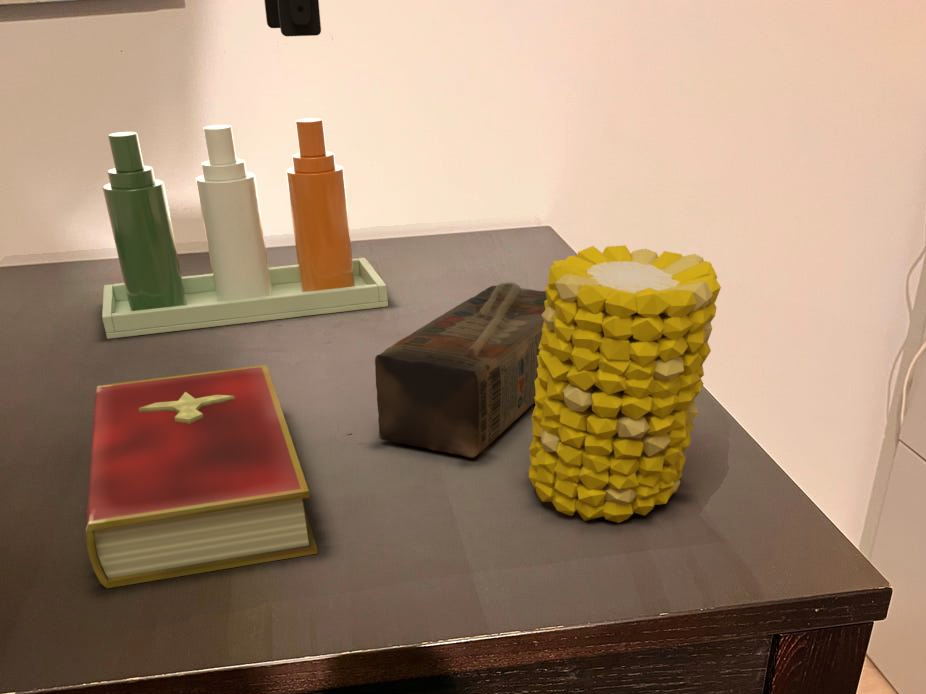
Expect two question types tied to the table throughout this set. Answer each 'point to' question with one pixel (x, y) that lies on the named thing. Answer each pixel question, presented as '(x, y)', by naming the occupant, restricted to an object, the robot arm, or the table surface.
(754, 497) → the table surface
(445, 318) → the beverage carton
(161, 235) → the green bottle
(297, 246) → the amber bottle
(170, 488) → the hardcover book
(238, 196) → the frosted bottle
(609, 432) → the food
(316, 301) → the tray
